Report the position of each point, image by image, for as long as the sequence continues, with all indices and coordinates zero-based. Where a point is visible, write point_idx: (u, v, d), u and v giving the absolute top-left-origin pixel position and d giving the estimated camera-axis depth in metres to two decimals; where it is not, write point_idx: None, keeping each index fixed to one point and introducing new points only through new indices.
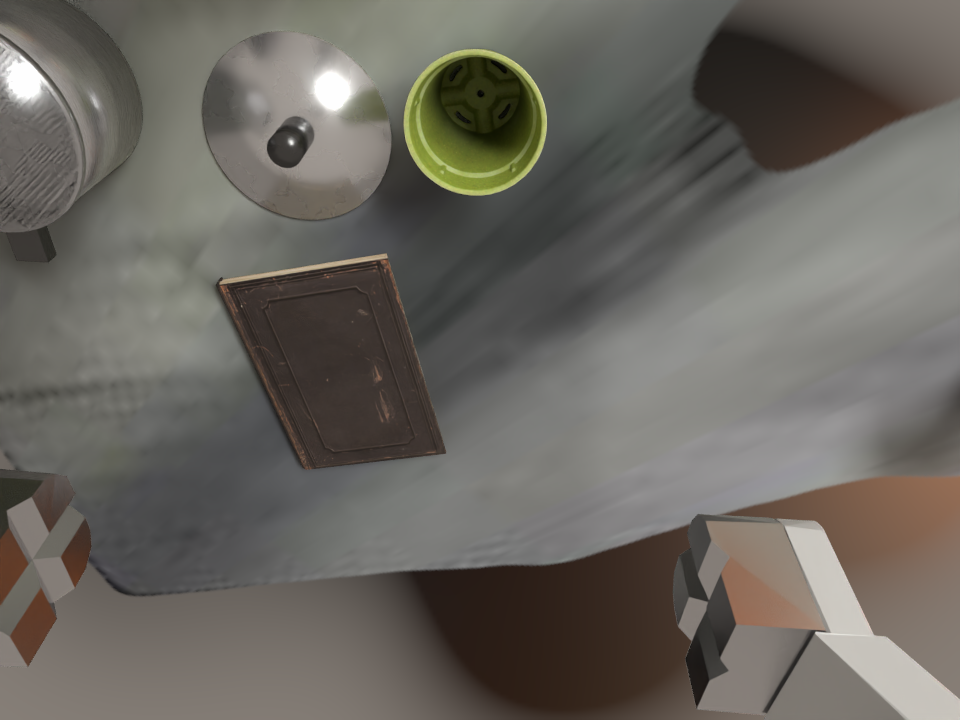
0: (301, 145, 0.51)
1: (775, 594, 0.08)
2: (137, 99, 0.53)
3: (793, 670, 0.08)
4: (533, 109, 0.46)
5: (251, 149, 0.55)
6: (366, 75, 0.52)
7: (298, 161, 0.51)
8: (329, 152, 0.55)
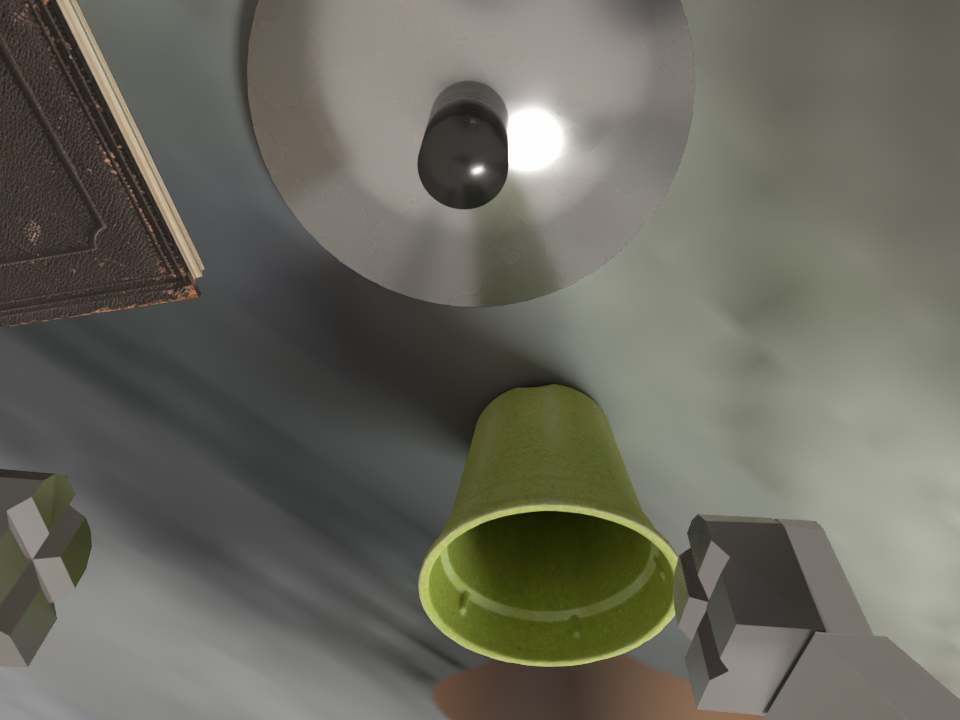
0: (475, 206, 0.21)
1: (775, 594, 0.08)
2: None
3: (792, 670, 0.08)
4: (557, 612, 0.29)
5: None
6: (579, 278, 0.27)
7: (435, 195, 0.20)
8: None
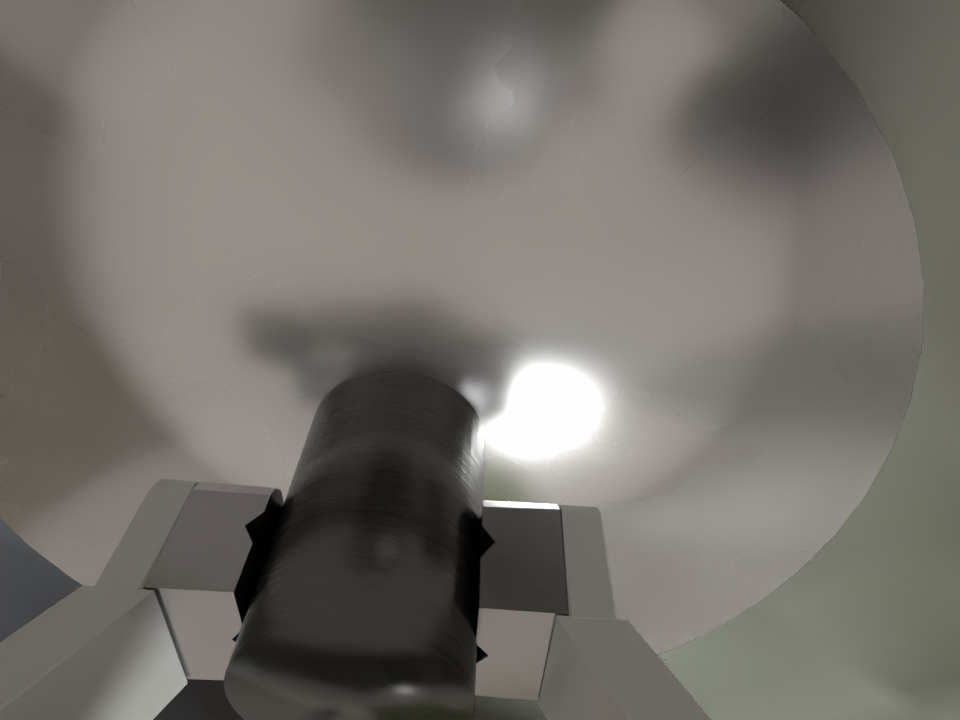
0: None
1: (529, 578, 0.08)
2: None
3: (549, 654, 0.08)
4: None
5: (290, 188, 0.08)
6: None
7: None
8: None
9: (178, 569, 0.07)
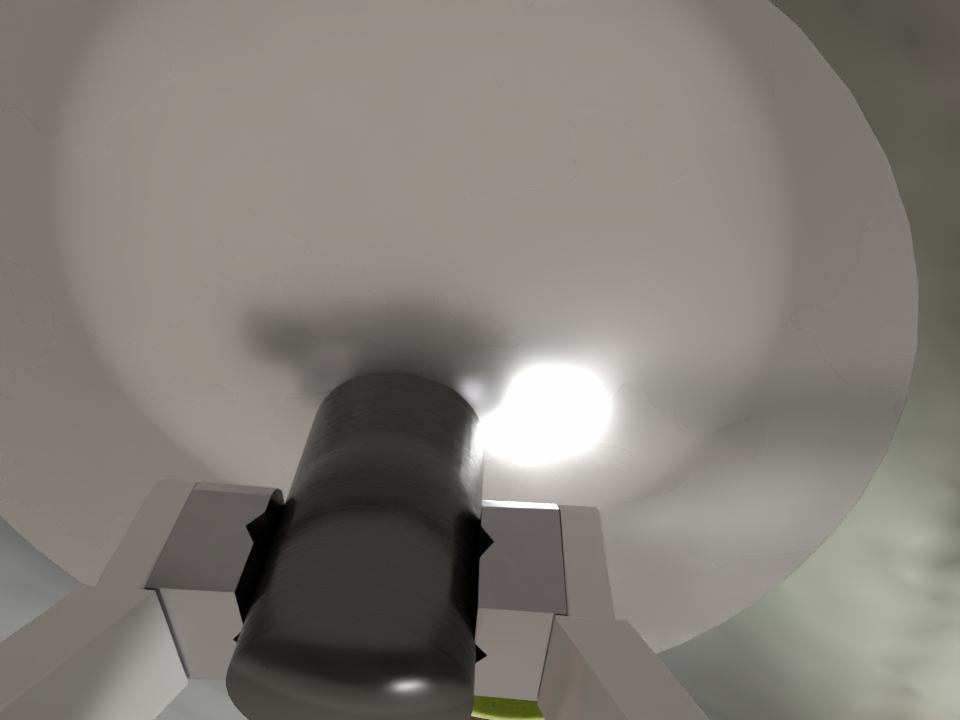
0: None
1: (528, 578, 0.08)
2: None
3: (547, 654, 0.08)
4: None
5: (292, 191, 0.08)
6: None
7: None
8: None
9: (179, 569, 0.07)
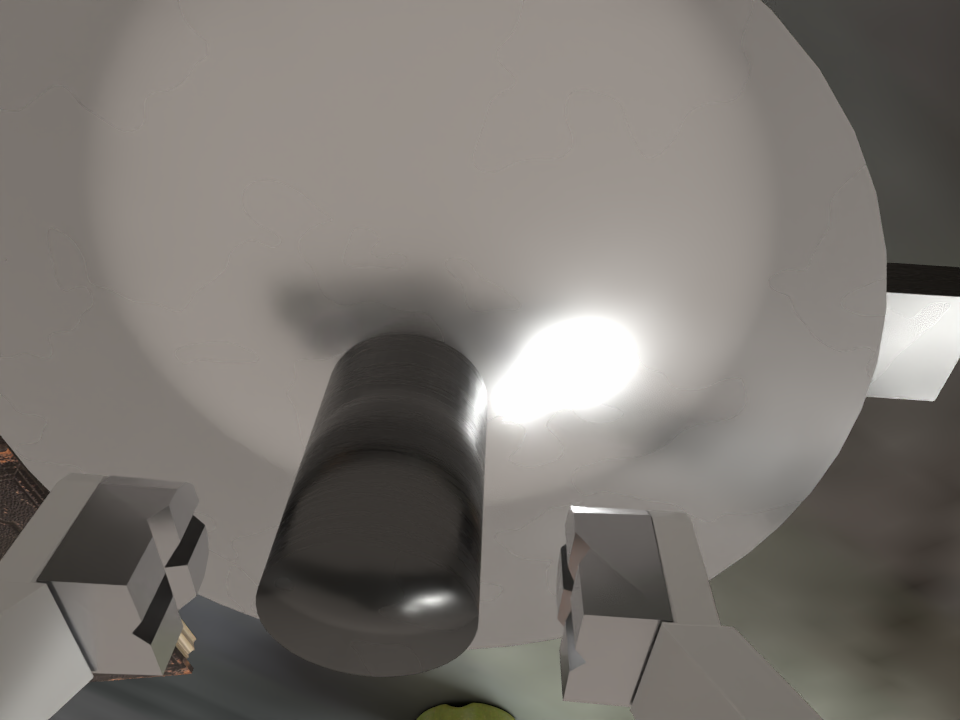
0: (400, 665, 0.09)
1: (629, 584, 0.08)
2: None
3: (648, 661, 0.08)
4: None
5: (313, 162, 0.09)
6: None
7: (306, 654, 0.09)
8: None
9: (73, 562, 0.07)
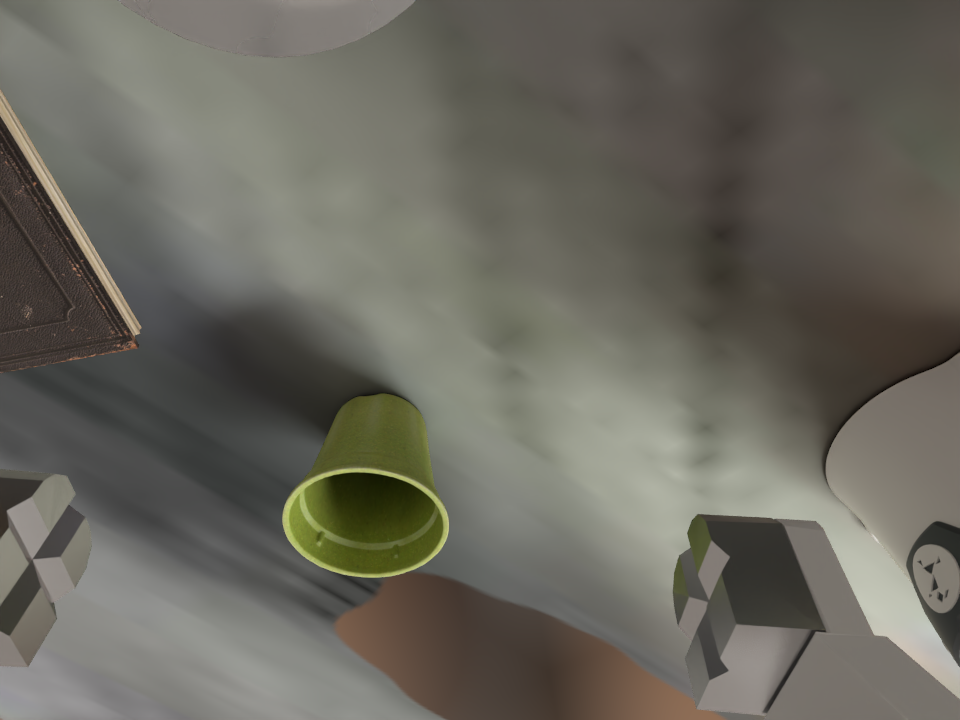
0: None
1: (775, 594, 0.08)
2: None
3: (791, 669, 0.08)
4: (385, 543, 0.43)
5: None
6: (393, 17, 0.22)
7: None
8: None
9: None
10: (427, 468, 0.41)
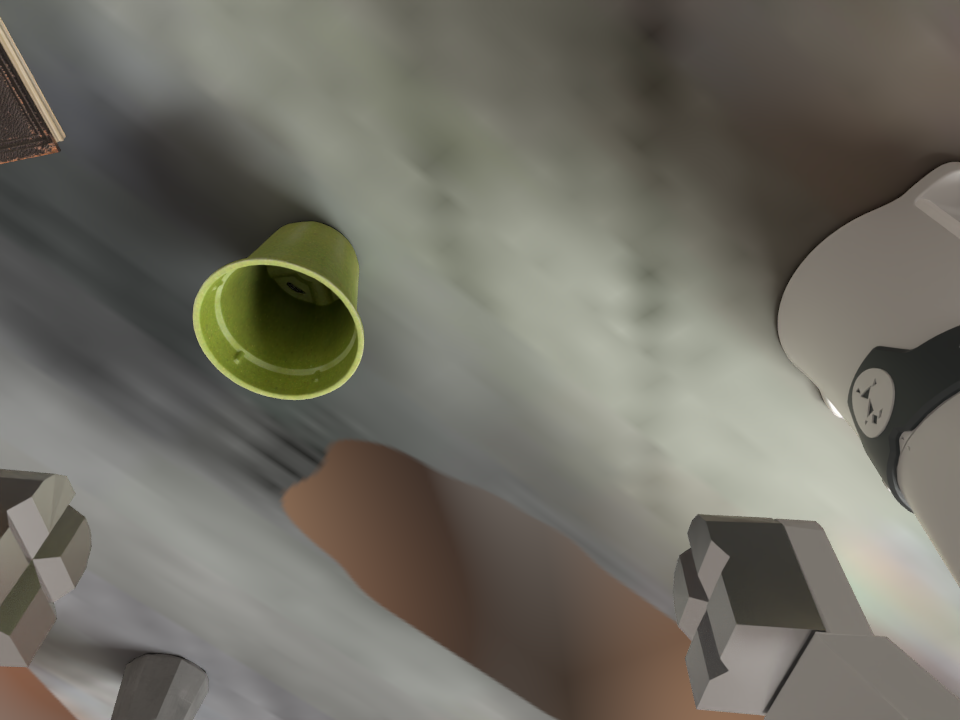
0: None
1: (775, 594, 0.08)
2: None
3: (793, 670, 0.08)
4: (307, 369, 0.42)
5: None
6: None
7: None
8: None
9: None
10: (347, 284, 0.40)
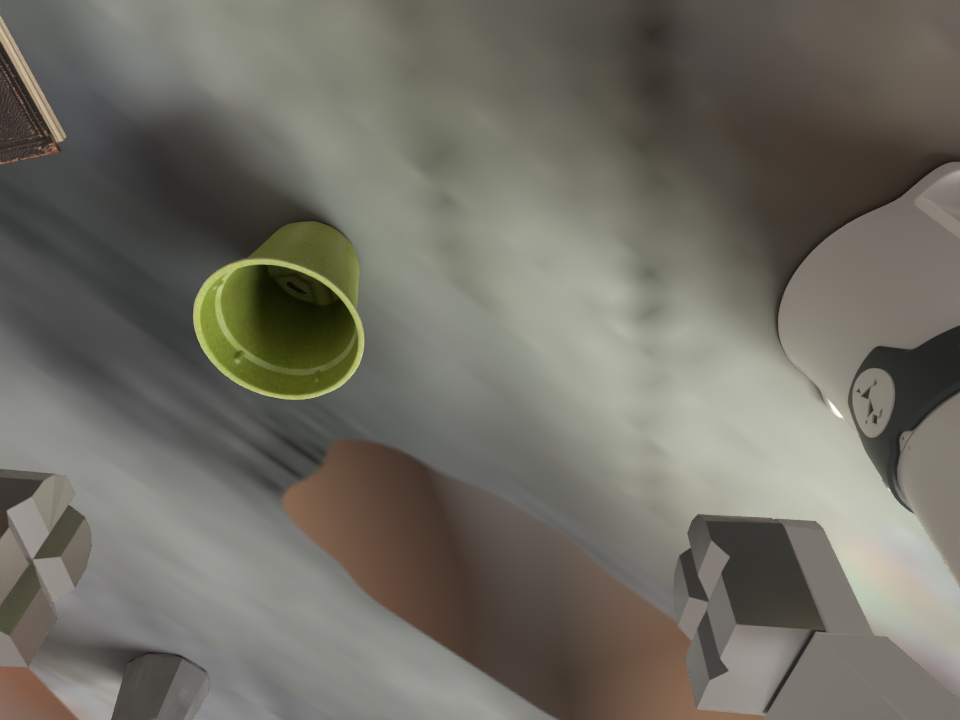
0: None
1: (775, 594, 0.08)
2: None
3: (793, 670, 0.08)
4: (308, 369, 0.42)
5: None
6: None
7: None
8: None
9: None
10: (348, 284, 0.40)
